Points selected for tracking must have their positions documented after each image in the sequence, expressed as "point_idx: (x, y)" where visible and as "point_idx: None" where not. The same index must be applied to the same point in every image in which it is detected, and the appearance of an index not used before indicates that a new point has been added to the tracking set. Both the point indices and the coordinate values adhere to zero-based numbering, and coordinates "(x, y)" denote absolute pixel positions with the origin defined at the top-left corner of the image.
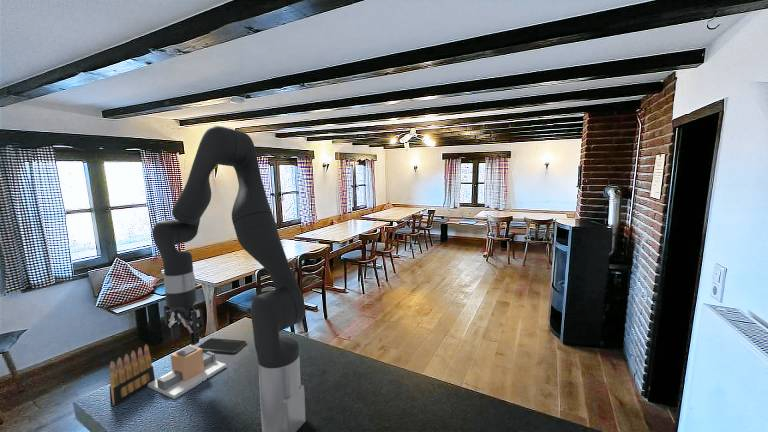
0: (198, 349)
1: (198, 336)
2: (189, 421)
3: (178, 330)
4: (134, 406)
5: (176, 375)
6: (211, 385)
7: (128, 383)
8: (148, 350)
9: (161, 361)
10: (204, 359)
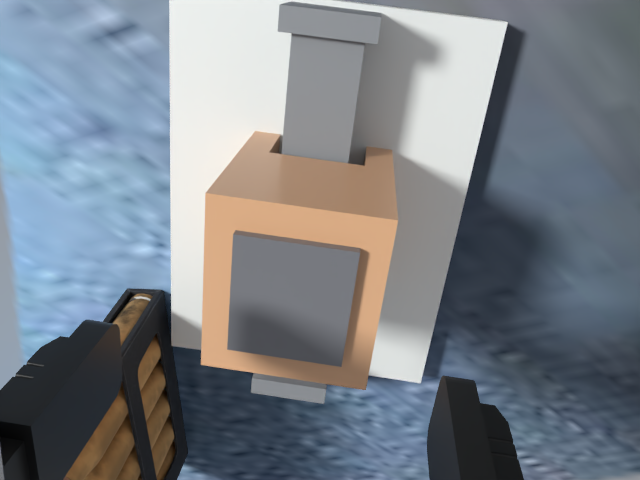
0: (371, 243)
1: (516, 469)
2: (629, 458)
3: (71, 392)
4: (272, 440)
5: None
6: (546, 232)
7: (152, 463)
8: None
9: None
10: (347, 113)
